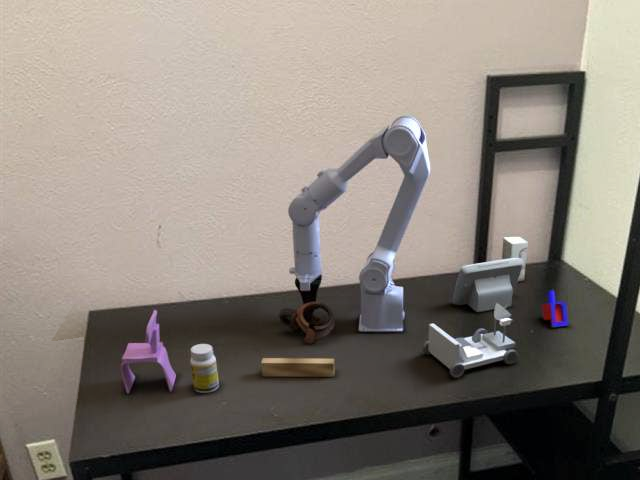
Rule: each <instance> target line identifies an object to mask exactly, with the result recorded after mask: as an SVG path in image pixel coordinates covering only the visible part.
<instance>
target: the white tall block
mask: <svg viewBox="0 0 640 480" xmlns="http://www.w3.org/2000/svg"><path fill="white" fill-rule="evenodd" d="M502 240H503V241H502V250H501V251H502V252H501V260H503V259H510V258H521V259H522V260H523V267H522V270H521V273H520V276H519V279H518V281H517V283H518V282H525V274H526V263H527V253H528V241H527V240H526V239H524V238H522V237H521V236H519V235H518V236H508V237H502Z"/></svg>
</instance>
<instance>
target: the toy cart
mask: <svg viewBox="0 0 640 480" xmlns="http://www.w3.org/2000/svg"><path fill="white" fill-rule="evenodd" d="M508 305H509V304H507V305H506V306H505V307H504V308H503V307H502V306H501V305H499V304H498V303H496V306H495V309H493V310H494V311H493V317H494V323H493V324H494V325H493V331H492V332H488V330H487V329H485V328H477V330H475V332H474V334H473V335H471V336H466V337H462V336H460V337H456V338H453V336H451V335H449V334H448V333H447V332H445V331H444V330H443V329H442V328H440V327H439V326H437V325H436V324H435V323H429V324H428V340H427V341H425V342H424V343H423V344H422V347H421V349H422V352H423V353H424V354H425V355H427V356H431V355H432V356H433V357H435V358H436V359H437V360H438V361H439V362H441V364H442V365H444V366H445V367H447V368H448V369H449V375H450V376H451V377H452V378H454V379H458V378H460V377H462V376H463V375H464V373H465V370H468V369H473V368H477V367H481V366H485V365H488V364H492V363H496V362H500V361H503V362H504V363H505V364H506V365H512V364H514V363H515V362H516V361H517V359H518V357H519V355H518V352H517V351H516V350H515V349H513V348H515V347H516V342H515V341H514V340H512V339H511V338H509V337H508V336H507V335H506V330H507V326H510V325H511V324H512V323H513V321H514V319H513V318H510V317H512V313H511V312H509V311H508V310H507V308H509V307H508ZM498 321H499V323H498V324H499V325H500V326H501V327H503V332H501V331H500V330H497V322H498Z"/></svg>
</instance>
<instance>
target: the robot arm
mask: <svg viewBox="0 0 640 480" xmlns="http://www.w3.org/2000/svg"><path fill="white" fill-rule="evenodd" d="M389 156H390V157H391V158H392V159H393V160H394V161H395V162H396V163H397V164H398V166H399V167H400V170H401V171H402V173H403V175H404V176H403V179H402V180H401V181H402V182H401V184H400V187H399V189H398V192H397V194H396V196H395V199H394V202H393V204H392V206H391V208H390V211H389V213H388V216H387V219H386V221H385V224H384V225H383V228H382V230H381V234H380V236H379V239H378V240H377V243H376V246H375V248H374V251H372V252H371V253H369V255H368V256H367V258H366V261H365V264H364V266H363V268H362V269H361V270H360V272H359V274H358V275H359V276H358V281H359V285H360V315H359V320H358V321H359V322H358V332H359V333H402V332H403V331H404V320H405V310H404V287H403V286H400V285H399V286H398V285H395V282H394V281H393V279H392V277H391V276H392V274H393V273H394V271H395V268H396V261H395V257H396V255H397V252H398V250H399V248H400V245H401V244H402V240H403V238H404V236H405V234H406V231H407V229H408V226H409V224H410V222H411V219H412V217H413V215H414V212H415V210H416V207H417V205H418V202H419V201H420V198H421V196H422V193H423V191H424V188H425V186H426V184H427V182H428V180H429V177H430V173H431V163H430V157H429V151H428V145H427V134H426V133H425V131H424V129H423V127H422V126H421V124H420V122H419V121H418V120H417V119H416V118H415V117H413V116H410V115H401V116H399V117H397V118H396V119H395V120H394V121H393V122H392V123H391V124H388V125H385V126H384V127H383V128H382V129H380V130H378V131H377V132H376V133H375V134H373V135H372V136H371V137H369V138H368V140H367V141H365V142H364V143H363V144H362V145H361V146H360V147H359V148H358V149H357V150H356V151H354V152H353V154H351V156H350V157H349V158H348V159H346V160H345V161H344V162H343V163H342V164H341V165H340V166H339V167H338V168H334V167H333V168H332V167H328V168H327V169H325V170H324V169H321V170H320V171H319V172H318V173H317V174H316V177H317V178H316V179H314V180H313V181H312V182H311V183H310V184H309V185H308V186H306V185H304V186H303V187H302V188H301V189H300V191H301V192H299V193H298V194H297V195H296V196H295V197H294V198H293V199H292V201H291V202H290V203H289V206H288V208H287V209H288V210H287V212H288V216H289V219H290V220H291V222H292V223H291V224H292V229H291V230H292V245H293V246H292V247H293V261H294V263H293V264H294V267H290V268H289V270H288V272H289V275H294V276H295V279H294V285H295V287H296V288H297V290H298V293H299V294H300V296H301V297H300V298H301V300H302V305H304V304H306V303H309V302H317V297H318V291H319V288H320V287H321V284H322V279H323V268H322V254H321V253H322V250H321V229H320V220H319V219H320V218H319V215H320V213H321V212H322V211H325V210H326V209H327V208H328V207H329V206H331V205H332V204H333V203H334V202H335V201H336V200H337V199H339V198H340V197H341V196H342V195H344V194H345V193H346V192H347V190H348V182H349V180H351V179H352V178H353V177H354V176H356V175H357V174H358V173H359V172H360V171H362V170H363V169H364V168H366V167H367V166H368V165H369V164H370V163H372V162H373V161H374V160H376V159H378V160H380V159H381V160H386V159H388V157H389Z"/></svg>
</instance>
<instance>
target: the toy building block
mask: <svg viewBox="0 0 640 480" xmlns="http://www.w3.org/2000/svg"><path fill="white" fill-rule="evenodd" d="M546 294H547V302H548V303H544V304H542V305H541V307H542V316H543V321H550V327H551V328H559V327H566V326H567V327H568V326H569V320H568V310H567V302H566V301H558V302H556V296H555V290H554V289H551V290H547V291H546Z"/></svg>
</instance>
